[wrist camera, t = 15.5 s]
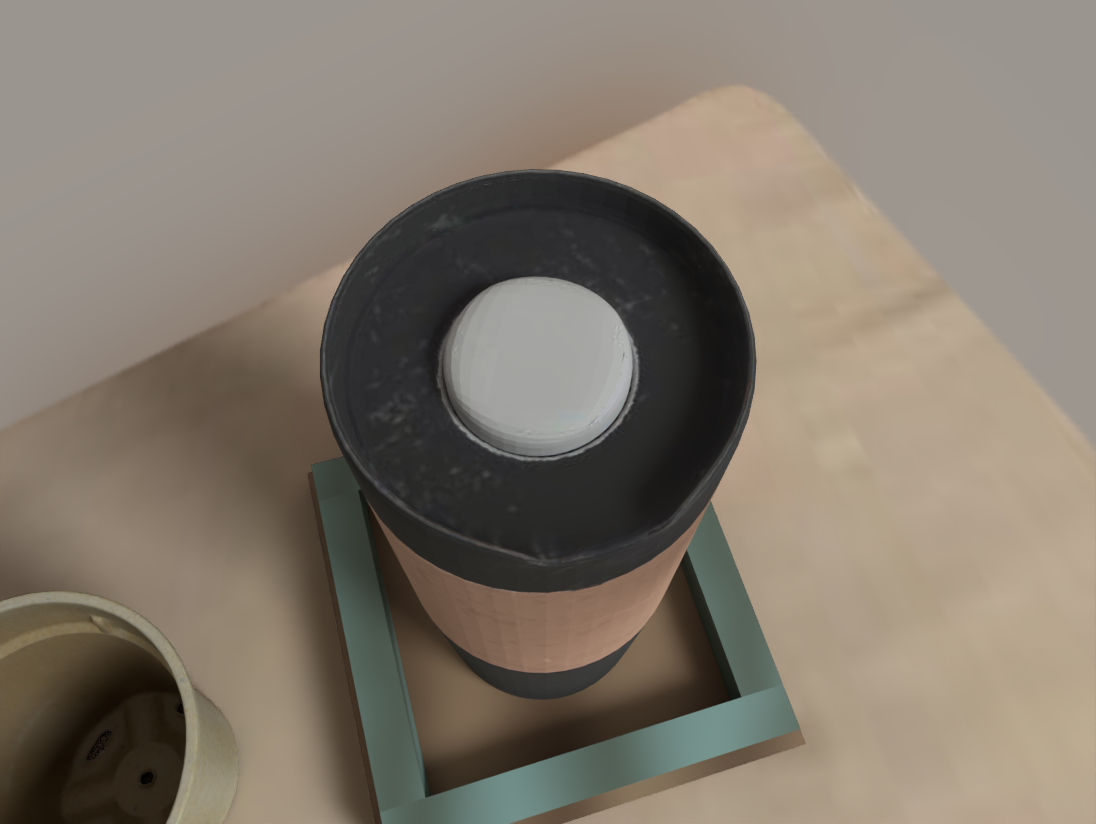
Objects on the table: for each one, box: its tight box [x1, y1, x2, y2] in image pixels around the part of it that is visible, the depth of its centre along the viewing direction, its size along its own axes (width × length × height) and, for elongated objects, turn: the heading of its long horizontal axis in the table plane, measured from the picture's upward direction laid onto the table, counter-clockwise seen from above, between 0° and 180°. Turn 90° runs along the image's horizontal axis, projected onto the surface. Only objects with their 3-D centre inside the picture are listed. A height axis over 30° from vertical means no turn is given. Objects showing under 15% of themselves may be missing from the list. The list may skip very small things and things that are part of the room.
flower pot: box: [0, 591, 239, 824], centre depth 27 cm, size 9×9×9 cm
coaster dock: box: [308, 456, 806, 824], centre depth 33 cm, size 15×15×3 cm
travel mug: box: [320, 169, 756, 700], centre depth 24 cm, size 8×8×20 cm
